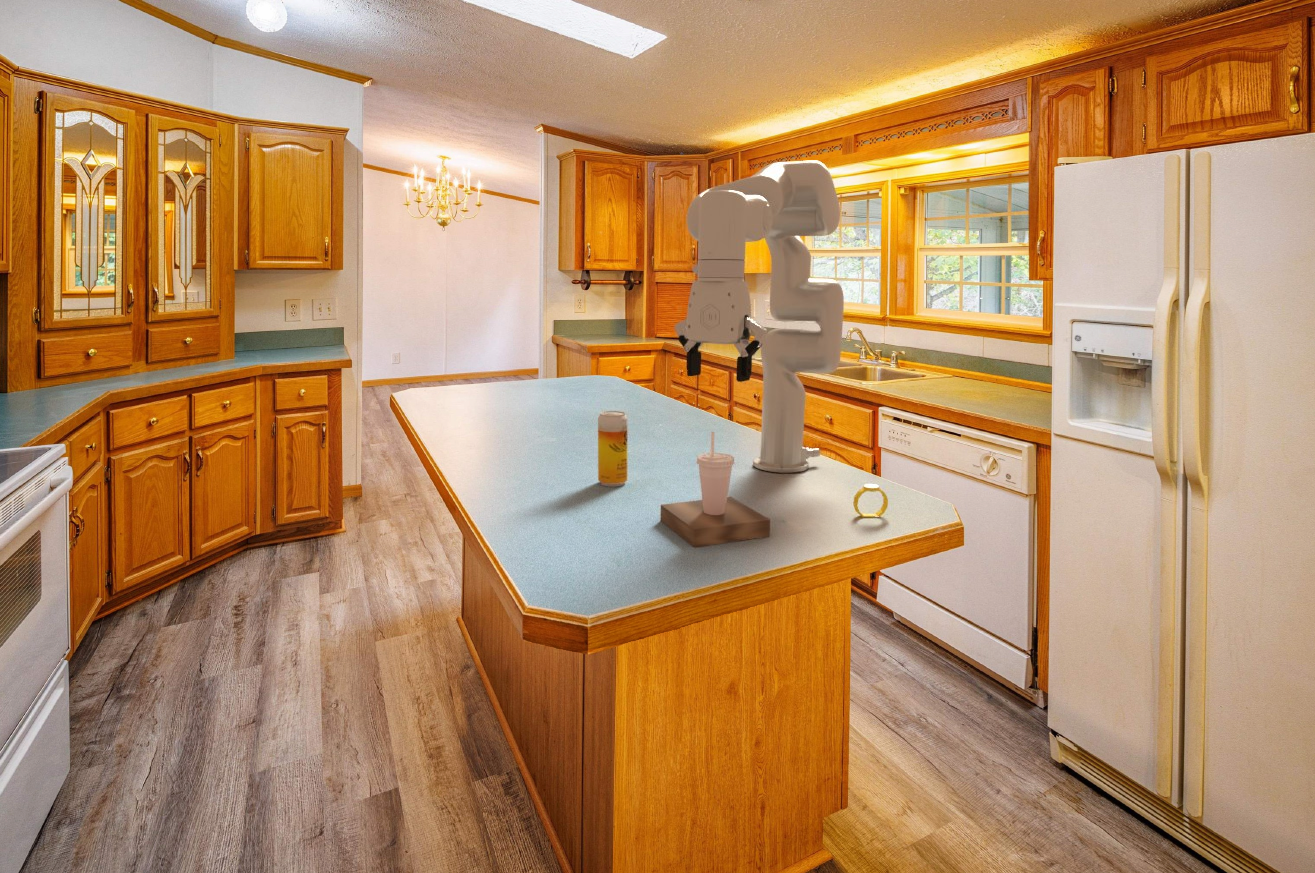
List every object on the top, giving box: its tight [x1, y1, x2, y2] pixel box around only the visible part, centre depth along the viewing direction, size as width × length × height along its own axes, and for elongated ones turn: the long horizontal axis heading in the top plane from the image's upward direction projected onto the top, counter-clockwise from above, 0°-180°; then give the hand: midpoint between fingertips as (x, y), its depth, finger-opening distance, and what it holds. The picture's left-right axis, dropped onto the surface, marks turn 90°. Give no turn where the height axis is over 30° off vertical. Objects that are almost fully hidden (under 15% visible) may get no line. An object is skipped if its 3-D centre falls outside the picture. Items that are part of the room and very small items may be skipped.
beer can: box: [597, 410, 628, 488], centre depth 151 cm, size 6×6×15 cm
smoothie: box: [696, 431, 735, 515], centre depth 124 cm, size 6×6×14 cm
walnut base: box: [660, 496, 771, 548], centre depth 126 cm, size 14×14×3 cm
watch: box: [853, 483, 889, 518], centre depth 133 cm, size 6×3×6 cm, turn 93°
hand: (717, 378), depth 120 cm, fingers open, 9 cm apart
